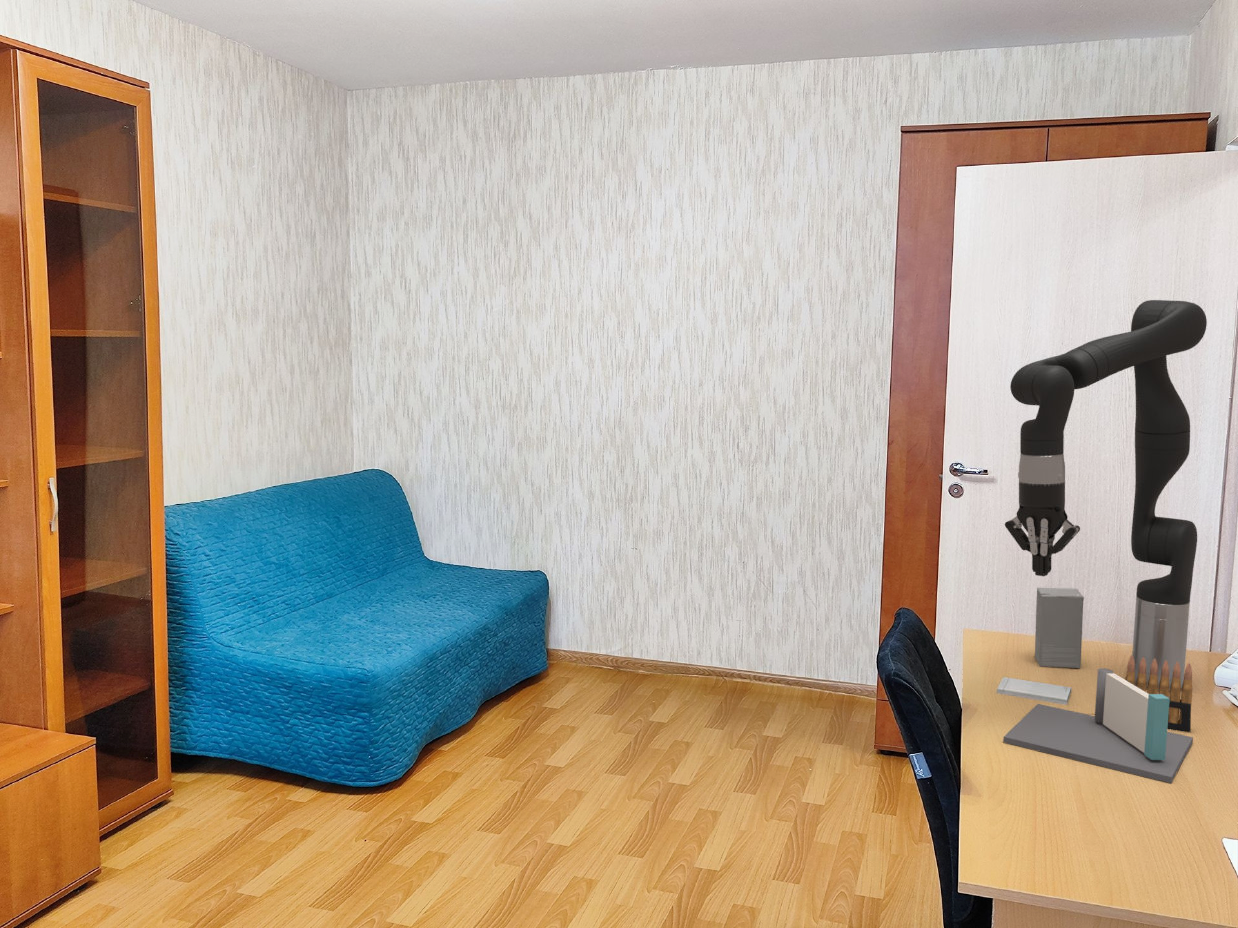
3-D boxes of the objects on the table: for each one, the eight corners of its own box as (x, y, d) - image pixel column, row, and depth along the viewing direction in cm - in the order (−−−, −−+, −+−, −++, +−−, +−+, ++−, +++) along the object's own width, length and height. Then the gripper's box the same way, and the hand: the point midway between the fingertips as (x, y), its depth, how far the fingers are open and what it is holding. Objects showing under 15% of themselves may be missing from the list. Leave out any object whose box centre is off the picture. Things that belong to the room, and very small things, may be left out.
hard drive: (1071, 686, 192) (1003, 675, 198) (1067, 699, 185) (996, 687, 191) (1071, 694, 192) (1003, 683, 199) (1067, 707, 185) (996, 695, 191)
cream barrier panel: (1091, 718, 175) (1095, 662, 173) (1105, 717, 175) (1108, 662, 174) (1150, 759, 157) (1155, 698, 156) (1165, 759, 157) (1170, 698, 156)
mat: (1037, 708, 183) (1037, 703, 183) (1192, 742, 168) (1193, 737, 168) (1003, 742, 167) (1003, 736, 167) (1171, 783, 152) (1171, 776, 152)
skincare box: (1074, 660, 212) (1078, 587, 210) (1081, 670, 205) (1086, 595, 203) (1031, 657, 214) (1036, 584, 212) (1037, 667, 207) (1042, 592, 205)
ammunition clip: (1189, 729, 174) (1195, 662, 173) (1190, 732, 172) (1195, 665, 171) (1121, 718, 179) (1126, 653, 178) (1121, 721, 177) (1125, 656, 176)
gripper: (1088, 478, 173) (1088, 575, 176) (1013, 473, 183) (1013, 566, 185) (1072, 484, 168) (1071, 584, 170) (995, 479, 178) (996, 574, 180)
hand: (1041, 574), depth 178 cm, fingers closed
